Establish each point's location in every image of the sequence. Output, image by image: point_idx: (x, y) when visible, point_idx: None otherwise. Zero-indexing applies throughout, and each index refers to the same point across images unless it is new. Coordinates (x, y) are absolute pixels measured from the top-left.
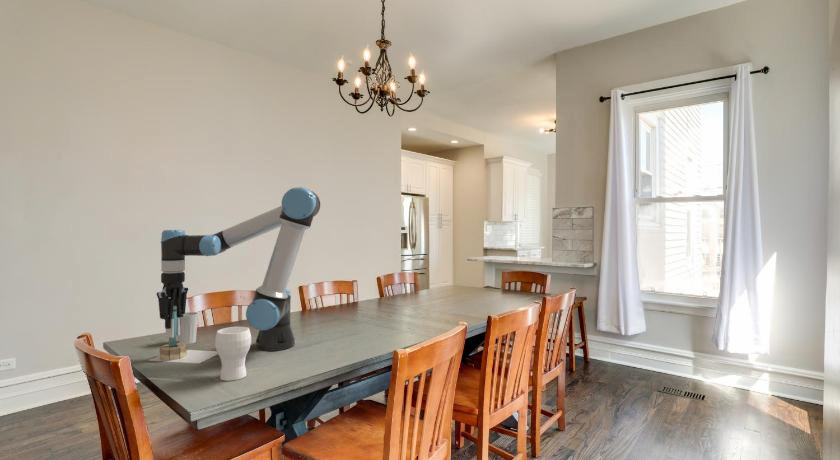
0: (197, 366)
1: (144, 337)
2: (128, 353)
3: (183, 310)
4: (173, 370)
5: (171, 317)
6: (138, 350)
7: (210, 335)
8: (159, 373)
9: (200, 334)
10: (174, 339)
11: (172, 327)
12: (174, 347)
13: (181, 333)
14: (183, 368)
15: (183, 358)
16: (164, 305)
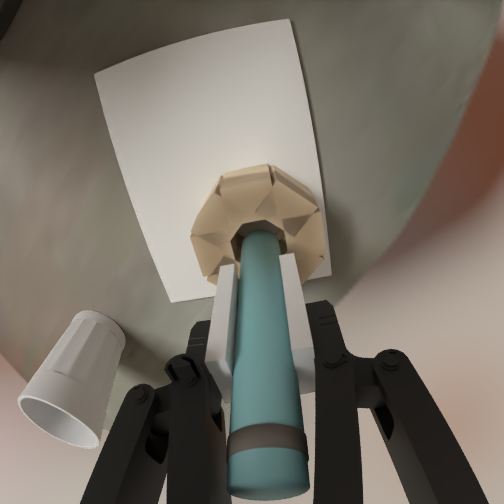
0: (312, 6)
1: None
2: None
3: (141, 414)
4: (392, 69)
5: (330, 362)
6: None
7: (20, 328)
8: (434, 99)
9: (38, 359)
10: (265, 252)
11: (302, 295)
12: (277, 217)
13: (109, 365)
14: (358, 45)
15: (258, 153)
16: (469, 470)
